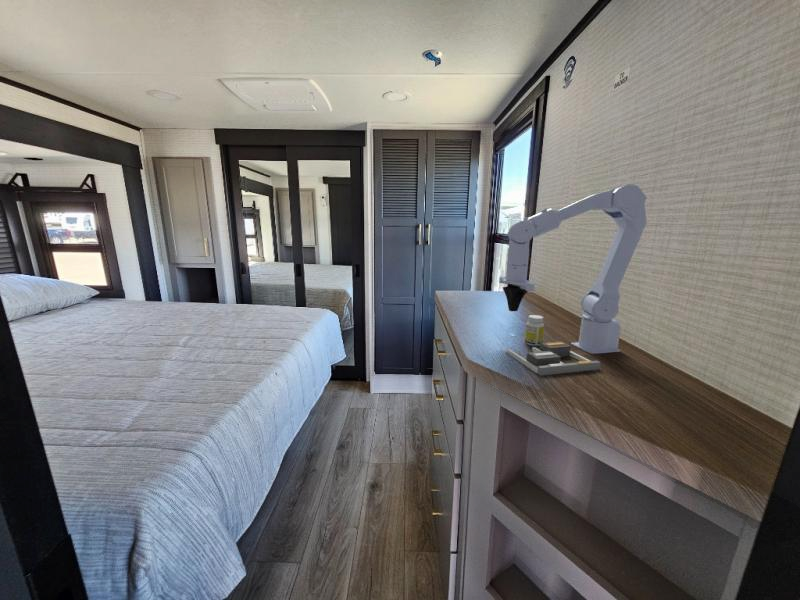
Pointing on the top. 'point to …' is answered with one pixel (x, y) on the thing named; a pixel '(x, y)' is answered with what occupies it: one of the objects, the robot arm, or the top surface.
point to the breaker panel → (560, 367)
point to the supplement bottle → (534, 330)
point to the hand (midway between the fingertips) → (513, 310)
